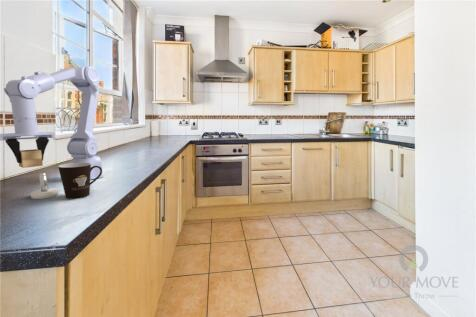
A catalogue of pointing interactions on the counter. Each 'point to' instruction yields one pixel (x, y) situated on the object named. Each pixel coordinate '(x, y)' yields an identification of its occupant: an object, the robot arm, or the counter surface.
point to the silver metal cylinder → (43, 182)
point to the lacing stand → (44, 193)
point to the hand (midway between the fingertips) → (30, 161)
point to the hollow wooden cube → (30, 158)
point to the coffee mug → (77, 179)
